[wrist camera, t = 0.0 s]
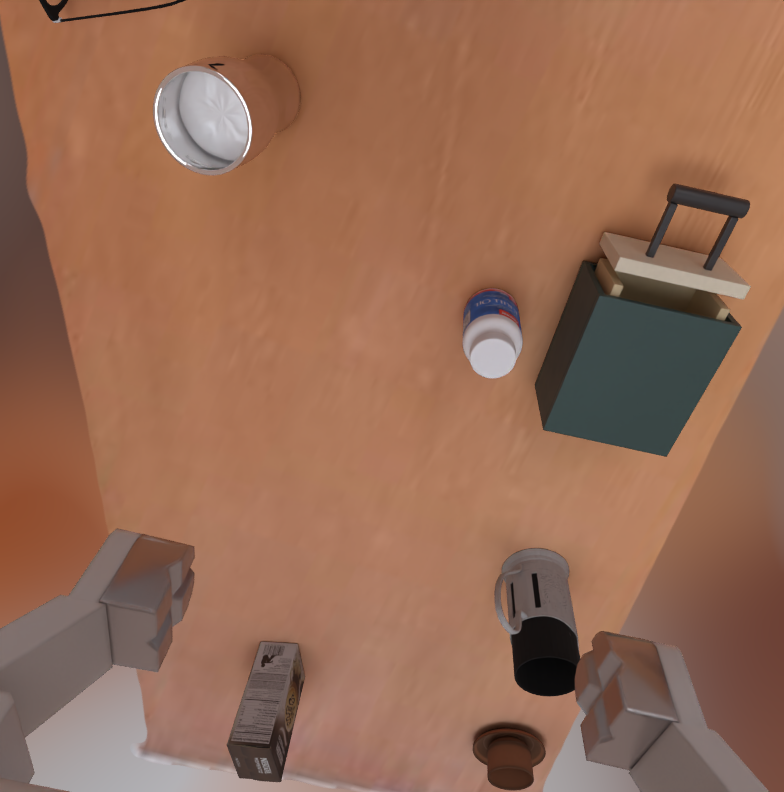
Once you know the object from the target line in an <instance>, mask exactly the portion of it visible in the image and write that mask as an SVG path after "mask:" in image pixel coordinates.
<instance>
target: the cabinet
mask: <svg viewBox="0 0 784 792" xmlns="http://www.w3.org/2000/svg"><path fill="white" fill-rule="evenodd" d="M596 267H597V264H596V263H592V262H587V261H583V262H582V265H581V267H580V270H579V272H578V275H577V278H576V280H575V283H574V285H573V288H572V290H571V293H570V296H569V298H568V301H567V303H566V306H565V308H564V311H563V314H562V316H561V319H560V321H559V324H558V326H557V329H556V332H555V334H554V337H553V339H552V342H551V344H550V347H549V350H548V352H547V355H546V357H545V360H544V362H543V365H542V367H541V370H540V373H539V375H538V378H537V380H536V383H535V389H536V394H537V400H538V405H539V410H540V415H541V421H542V426H543V430H546V431H551V432H555V433H560V434H564V435H569V436H574V437H578V438H583V439H587V440H592V441H597V442H601V443H606V444H610V445H615V446H620V447H624V448H629V449H633V450H638V451H642V452H647V453H652V454H656V455H661V456H665V457H667V455H668V453H669V452H670V450H671V448H672V446H673V445H674V443H675V441H676V440H677V438H678V436H679V434H680V433H681V431H682V429H683V428H684V426H685V424H686V422H687V421H688V419H689V417H690V416H691V414H692V412H693V410H694V409H695V407H696V405H697V403H698V402H699V400H700V398H701V397H702V395H703V393H704V391H705V390H706V388H707V386H708V385H709V383H710V381H711V379H712V378H713V376H714V374H715V373H716V371H717V369H718V367H719V366H720V364H721V362H722V361H723V359H724V357H725V355H726V354H727V352H728V350H729V348H730V347H731V345H732V343H733V342H734V340H735V338H736V336H737V335H738V333H739V331H740V330H741V328H742V327H741V326H740V324H739V323H738V322H737V321H736V320H735V319H734V318H733V317H732V315H731V314H730V313H728V315H727V317H726V319H725V321H723V320H719V319H714V318H710V317H705V316H701V315H696V314H692V313H687V312H683V311H678V310H674V309H669V308H665V307H660V306H656V305H651V304H647V303H642V302H638V301H634V300H629V299H625V298H620V297H616V296H611V295H607V294H605V293H604V291H603V289H602V287H601V285H600V283H599V281H598V279H597V277H596V275H595V273H594V272H595V269H596Z"/></svg>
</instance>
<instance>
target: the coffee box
mask: <svg viewBox="0 0 784 792" xmlns="http://www.w3.org/2000/svg"><path fill="white" fill-rule="evenodd" d="M304 679H305V675H304V671H303V666H302V661H301V657H300V652H299V647H298V644H293V643H277V642H260V645H259V648H258V651H257V654H256V657H255V661H254V664H253V666H252V670H251V673H250V676H249V679H248V682H247V685H246V688H245V691H244V694H243V697H242V700H241V703H240V706H239V709H238V712H237V715H236V718H235V721H234V724H233V727H232V730H231V733H230V737H229V740H228V743H227V747H228V750H229V752H230V755H231V758H232V760H233V763H234V766H235V768H236V771H237V774H238V776H239V778H246V779H253V780H259V781H269V782H281V779H282V774H283V770H284V766H285V761H286V757H287V753H288V748H289V744H290V739H291V735H292V731H293V726H294V722H295V718H296V713H297V709H298V705H299V700H300V696H301V692H302V688H303V683H304Z"/></svg>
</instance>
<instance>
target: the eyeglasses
mask: <svg viewBox="0 0 784 792" xmlns="http://www.w3.org/2000/svg"><path fill="white" fill-rule="evenodd" d="M39 1H40V3H41V5H42V6H43V8H44V10H45V12H46V13H47V15H48V17H49V18H50V19H51V20H52V21H53V22H54V23H58V22H65V21H73V20H80V19H88V18H96V17H103V16H111V15H119V14H126V13H133V12H140V11H146V10H152V9H158V8H163V7H167V6H172V5H175V4H177V3H180V2H183V1H186V0H177V1H174V2H171V3H167V4H162V5H158V6H152V7H147V8H140V9H133V10H127V11H120V12H113V13H106V14H99V15H91V16H84V17H76V18H69V19H62V18H61V17H60V18H59V16H58V14H59V12H60V11H61V10H62V9H63V7H64V6H65V5H66V3H67V1H68V0H62V1H61V2H60V3H59V4H58V5H50V4H48V3H47V1H46V0H39ZM57 20H58V21H57Z"/></svg>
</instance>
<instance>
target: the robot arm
mask: <svg viewBox="0 0 784 792" xmlns="http://www.w3.org/2000/svg"><path fill="white" fill-rule="evenodd" d="M194 558H195V552H194V546H191V545H187V544H183V543H178V542H174V541H170V540H166V539H162V538H157V537H153V536H149V535H145V534H140V533H136V532H131V531H127V530H122V529H118V528H117V529H116V530H115V531H113V532H112V533H111V534H110V535H109V536H108V538H107V539H106V541H105V542H104V544H103V545H102V547H101V548H100V550H99V551H98V553H97V554H96V556H95V557H94V558H93V560H92V561H91V563H90V565H89V566H88V567H87V569H86V570H85V572H84V573H83V575H82V576H81V578H80V579H79V581H78V582H77V584H76V585H75V587H74V588H73V590H72V591H71V593H70V594H69V596H64V595H59V596H57V597H56V598H54V599H52V600H50V601H48V602H47V603H45V604H43V605H41V606H39V607H38V608H36V609H35V610H32V611H31V612H29V613H27V614H25V615H24V616H22V617H20V618H18V619H16V620H15V621H13V622H11V623H9V624H8V625H6V626H4V627H2V628H0V792H69V791H64V790H58V789H53V788H49V787H44V786H38V785H33V784H29V782H30V780H31V779H32V777H33V775H34V769H33V765H32V761H31V758H30V755H29V751H28V747H27V744H26V740H25V737H26V736H28V735H29V734H30V733H31V732H33V731H34V730H35V729H36V728H38V727H39V726H40V725H41V724H43V723H44V722H45V721H46V720H48V719H49V718H50V717H51V716H52V715H54V714H55V713H56V712H58V711H59V710H60V709H61V708H63V707H64V706H65V705H66V704H67V703H69V702H70V701H71V700H73V699H74V698H75V697H76V696H77V695H79V694H80V693H81V692H82V691H84V690H85V689H86V688H87V687H89V686H90V685H91V684H92V683H94V682H95V681H96V680H97V679H99V678H100V677H101V676H102V675H104V674H105V673H106V672H107V671H108V670H110V669H111V668H112V664H114V665H120V666H125V667H131V668H136V669H142V670H148V671H153V672H158V671H159V669H160V667H161V664H162V662H163V660H164V658H165V656H166V654H167V652H168V649H169V647H170V645H171V643H172V627H173V626H174V625H176V624H177V623H179V622H180V621H182V619H183V617H184V614H185V612H186V610H187V608H188V605H189V601H190V598H191V595H192V591H193V586H194V572H193V571H192V569H191V568H190V567H191V565H192V562H193V560H194ZM592 646H593V650H592V651H590V652H587V653H585V654H583V655H582V657H581V659H580V661H579V663H578V664H577V669H576V674H575V694H576V701H577V703H578V705H579V706H580V707H581V709H582V710H583V711H584V713H585V714H586V717H585V718H584V720H583V722H582V724H581V731H582V737H583V743H584V749H585V755H586V760H587V761H592V762H596V763H600V764H604V765H609V766H613V767H617V768H622V769H626V770H630V772H629V774H630V775H631V777H632V779H633V780H634V782H635V783H636V785H637V787H638V788H639V790H640V792H769V791H768V790H767V789H766V788H765V786H764V785H763V784H762V783H761V782H760V781H759V780H758V778H757V777H756V776H755V775H754V774H753V773H752V772H751V771H750V769H749V768H748V767H747V766H746V765H745V764H744V763H743V761H741V759H740V758H739V757H738V756H737V755H736V753H735V752H734V751H733V750H732V749H731V748H730V747H729V746H728V744H727V743H726V742H725V741H724V740H723V739H722V738H721V736H720V735H718V733H717V732H716V731H714V730H710V729H708V728H707V725H706V722H705V719H704V716H703V713H702V710H701V708H700V705H699V702H698V699H697V696H696V693H695V690H694V687H693V685H692V682H691V679H690V676H689V673H688V670H687V667H686V665H685V662H684V659H683V656H682V653H681V651H680V650H679V649H678V648H677V647H676V646H672V645H667V644H662V643H657V642H653V641H649V640H645V639H641V638H635V637H630V636H625V635H620V634H615V633H610V632H605V631H601V632H599V633H597V634H596V635H595V637H594V638H593V640H592Z"/></svg>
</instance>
